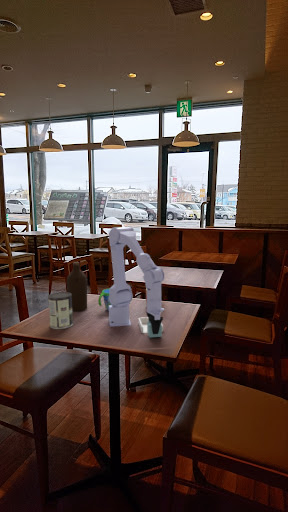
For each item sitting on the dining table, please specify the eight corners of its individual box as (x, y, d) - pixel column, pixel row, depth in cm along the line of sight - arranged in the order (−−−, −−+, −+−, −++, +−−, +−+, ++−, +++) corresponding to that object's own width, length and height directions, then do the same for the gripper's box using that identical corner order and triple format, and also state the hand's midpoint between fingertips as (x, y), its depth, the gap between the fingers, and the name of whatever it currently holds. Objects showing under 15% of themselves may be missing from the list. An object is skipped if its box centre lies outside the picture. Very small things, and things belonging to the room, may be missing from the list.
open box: (141, 334, 130) (141, 327, 130) (138, 324, 142) (138, 317, 141) (163, 332, 131) (163, 325, 131) (157, 322, 143) (157, 316, 143)
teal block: (149, 337, 123) (149, 325, 123) (147, 332, 128) (147, 320, 128) (161, 336, 124) (161, 324, 123) (159, 331, 129) (159, 320, 128)
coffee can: (62, 319, 149) (61, 290, 147) (77, 323, 143) (76, 293, 141) (44, 326, 141) (43, 295, 139) (60, 331, 135) (58, 299, 133)
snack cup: (102, 314, 155) (102, 294, 154) (95, 309, 165) (94, 290, 163) (130, 309, 163) (130, 290, 162) (121, 304, 172) (121, 286, 171)
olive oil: (92, 309, 165) (90, 262, 161) (74, 313, 158) (72, 264, 154) (81, 304, 173) (79, 260, 169) (64, 309, 166) (61, 262, 162)
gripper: (167, 303, 117) (168, 337, 119) (160, 293, 132) (160, 324, 134) (149, 304, 116) (149, 338, 118) (143, 294, 131) (144, 325, 133)
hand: (154, 331), depth 126 cm, fingers closed on teal block, 5 cm apart
